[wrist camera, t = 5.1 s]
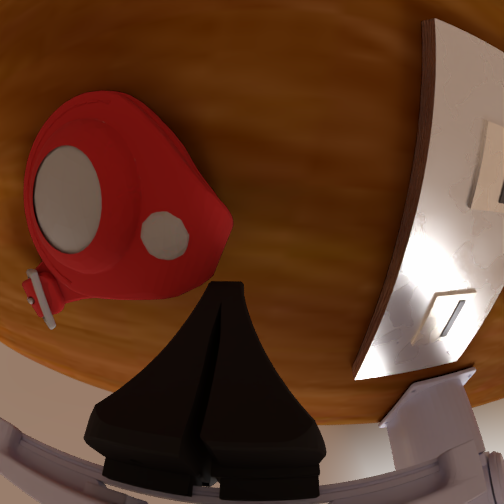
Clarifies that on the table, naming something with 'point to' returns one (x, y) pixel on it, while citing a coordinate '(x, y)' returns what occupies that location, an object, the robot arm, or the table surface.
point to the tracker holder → (116, 207)
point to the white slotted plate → (445, 213)
